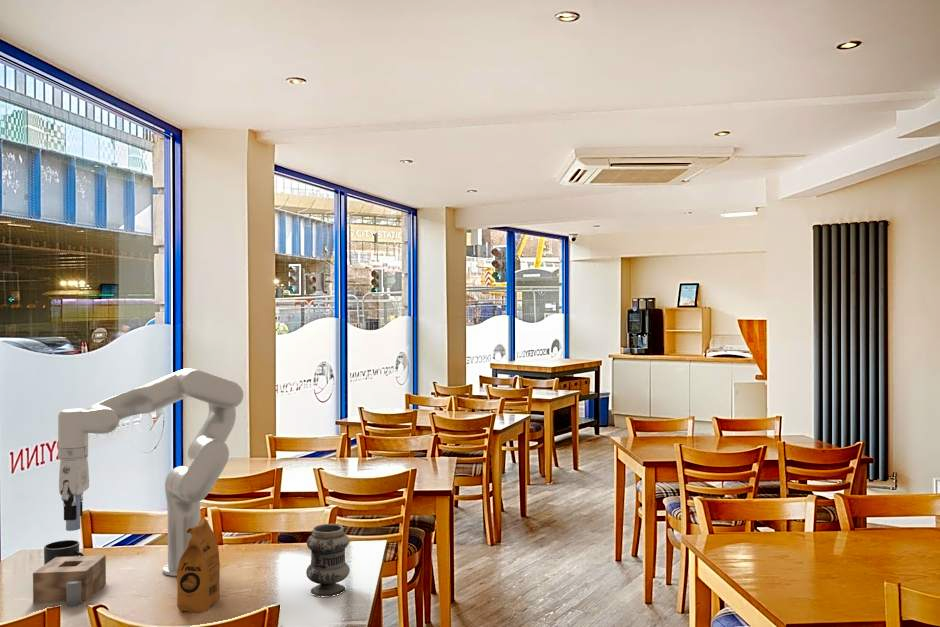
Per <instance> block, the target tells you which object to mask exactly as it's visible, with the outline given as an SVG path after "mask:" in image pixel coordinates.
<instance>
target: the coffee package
mask: <svg viewBox="0 0 940 627" xmlns="http://www.w3.org/2000/svg"><path fill="white" fill-rule="evenodd" d="M187 533H191V536H192V537H191V539H190V541H189V544H188V547H187V549H186V550H185V551H184V553H183V555H182V557H181V558H180V561H179V564H178V569H177V576H176V580H177V581H176V584H177V595H176V596H177V599H176V600H177V602H176V606H177V608H178V611H179V612H181V613H182V612H189V613H193V612H195V613H200V612H201V613H204V612H203V611H205V612H208V610H210V608H211V606H213V605H215V604H217V603H218V601H219V598H220V596H221V594H220V593H221V592H220V591H221V590H220V577H221V576H220V575H221V574H220V569H221V564H220V563H221V562H220V552H219V551H220V550H219V543H218V539H217V536H216V534H215V532H214V531H213V530H212V528H211V526H210V524H209V523H208V521H207V518H205V517H203V518H200V521H199V525H198V526H195V527H192V528H189V529H188V530H187Z"/></svg>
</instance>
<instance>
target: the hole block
mask: <svg viewBox="0 0 940 627" xmlns="http://www.w3.org/2000/svg"><path fill="white" fill-rule="evenodd" d="M106 557H107V556H106V555H104V554H103V555H102V554H101V555H84V556H80V555H79V556H72V557H55V558H54V559H52V560H51V561H50V562H48V563H47V564H45V565H44V564H43V566H41V567H40V568H38V569H36V570H35V571H34V572H32V602H33V603H46V602H67V596H66V583H67V582H70V581H74V580H80V581H81V601H87V600H88V599H89V598H91V596H93V595H94V594H95V593H96V592H97V591H98V590H99V589H101V588H102V586H104V585H105V584H106V582H107V581H106V580H107V567H106V566H107V564H106V563H107V562H106V559H107V558H106Z"/></svg>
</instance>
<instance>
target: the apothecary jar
mask: <svg viewBox="0 0 940 627" xmlns="http://www.w3.org/2000/svg"><path fill="white" fill-rule="evenodd" d="M349 544H350V538H349V536H348V534H346V533H345V531H344V527H343V525H341V524H339V523H337V524H336V523H324V524H318V525H316V526H314V527H313V529H312V533H311V535H309V537H308V538H307V541H306V546H307V548H308V549H309V550H311V551H310V556H311V559H310V564H309V565H308V567H307V568H306V577H307V578H308V579H309V581H311V582H312V583H315V584H316V585H315V586H313V587H312V588H311V589H310V591H311V593H312V594H314V595H316V596H320V597H319V598H322V597H321V596H333V595H337V594H340V593H341V592H343V591H344V590H345V588H346V587H345V586H344V585H343V584H340V582H342V581H344V580H345V579H346V578H347V577H348V576H349V574H350V571H351V570H350V566H349V564H348V563H347V562H346V548H347V547H348V546H349ZM311 593H310V594H311ZM312 594H311V595H312ZM341 594H342V593H341ZM341 594H340V595H341ZM314 595H313V596H314ZM316 596H315V597H316Z"/></svg>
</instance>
